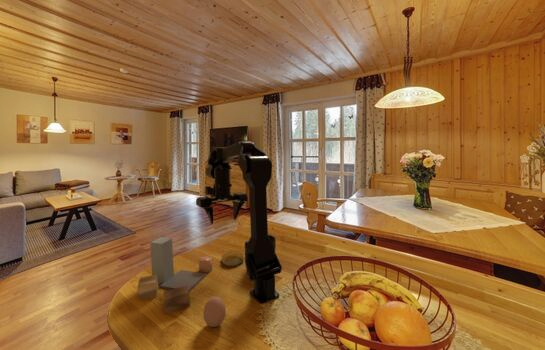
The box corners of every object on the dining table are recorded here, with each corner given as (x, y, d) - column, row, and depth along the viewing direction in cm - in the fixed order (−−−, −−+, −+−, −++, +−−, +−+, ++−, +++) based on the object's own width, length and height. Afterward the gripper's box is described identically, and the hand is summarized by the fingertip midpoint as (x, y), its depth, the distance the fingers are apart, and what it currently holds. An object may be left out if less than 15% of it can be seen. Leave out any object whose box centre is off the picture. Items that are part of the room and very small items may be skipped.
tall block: (173, 276, 78) (172, 238, 76) (164, 283, 73) (162, 243, 72) (162, 274, 79) (160, 237, 78) (152, 281, 74) (150, 242, 73)
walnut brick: (187, 298, 66) (186, 285, 65) (189, 307, 62) (188, 293, 62) (164, 305, 63) (163, 291, 63) (164, 314, 60) (164, 299, 59)
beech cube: (156, 296, 67) (155, 282, 66) (138, 300, 65) (137, 285, 65) (158, 288, 71) (157, 274, 71) (141, 291, 69) (140, 277, 69)
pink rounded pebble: (214, 270, 81) (213, 259, 81) (201, 274, 79) (200, 263, 78) (209, 265, 85) (209, 255, 84) (197, 269, 82) (196, 258, 82)
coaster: (206, 275, 78) (206, 273, 78) (188, 292, 69) (188, 290, 69) (180, 271, 81) (180, 269, 81) (159, 287, 71) (159, 285, 71)
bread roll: (242, 254, 94) (242, 245, 94) (244, 265, 86) (244, 254, 85) (221, 256, 92) (221, 247, 92) (221, 267, 84) (221, 256, 83)
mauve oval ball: (205, 336, 52) (204, 307, 52) (202, 321, 57) (201, 294, 56) (228, 328, 54) (227, 300, 54) (223, 314, 59) (222, 289, 58)
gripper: (235, 177, 99) (236, 213, 101) (190, 180, 89) (192, 220, 90) (248, 179, 90) (249, 219, 92) (200, 183, 80) (201, 228, 81)
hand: (223, 221), depth 89 cm, fingers open, 9 cm apart
